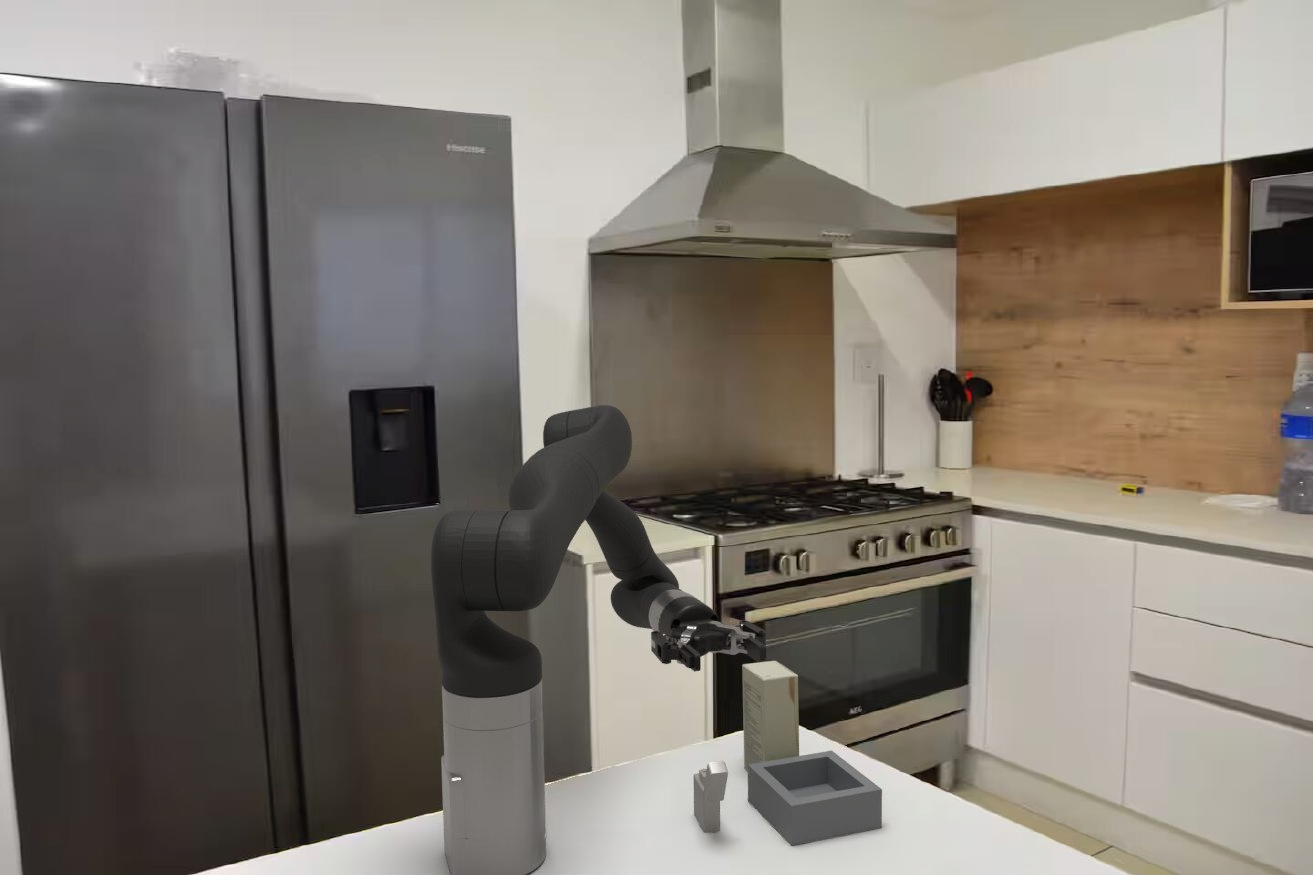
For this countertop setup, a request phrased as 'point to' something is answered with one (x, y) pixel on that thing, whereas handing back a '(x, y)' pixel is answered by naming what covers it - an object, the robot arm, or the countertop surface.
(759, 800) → the holder
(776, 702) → the skincare box
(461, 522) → the robot arm
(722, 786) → the lighter
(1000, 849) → the countertop surface
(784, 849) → the countertop surface
